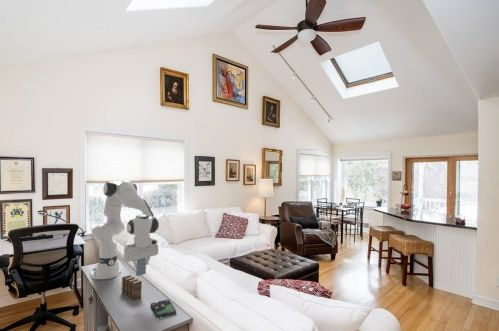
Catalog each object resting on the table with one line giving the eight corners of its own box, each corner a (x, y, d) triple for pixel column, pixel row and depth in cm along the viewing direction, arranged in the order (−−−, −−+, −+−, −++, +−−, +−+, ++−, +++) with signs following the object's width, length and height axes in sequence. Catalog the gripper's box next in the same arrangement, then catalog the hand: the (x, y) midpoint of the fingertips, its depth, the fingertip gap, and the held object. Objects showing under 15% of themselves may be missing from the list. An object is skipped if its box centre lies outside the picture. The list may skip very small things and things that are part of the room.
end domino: (145, 273, 160) (146, 256, 160) (137, 276, 156) (138, 258, 156) (144, 273, 161) (144, 256, 161) (136, 275, 157) (136, 258, 157)
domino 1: (121, 292, 168) (122, 276, 168) (129, 290, 171) (130, 274, 172) (123, 293, 167) (123, 277, 167) (130, 291, 170) (131, 275, 171)
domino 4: (131, 299, 159) (132, 282, 159) (139, 296, 163) (140, 280, 163) (133, 300, 158) (133, 283, 158) (141, 297, 162) (141, 280, 162)
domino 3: (128, 297, 162) (128, 280, 162) (136, 294, 166) (136, 278, 166) (129, 298, 161) (130, 281, 161) (137, 295, 165) (138, 279, 165)
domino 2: (124, 295, 165) (125, 278, 165) (132, 292, 169) (133, 276, 169) (126, 295, 164) (126, 279, 164) (134, 293, 167) (134, 277, 168)
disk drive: (150, 308, 150) (156, 320, 138) (150, 303, 150) (157, 314, 138) (168, 303, 156) (176, 314, 144) (168, 298, 156) (176, 309, 144)
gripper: (126, 246, 149) (126, 271, 148) (160, 240, 164) (159, 262, 164) (121, 244, 153) (121, 269, 152) (154, 238, 169) (153, 260, 168)
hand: (141, 265), depth 158 cm, fingers closed on end domino, 5 cm apart
